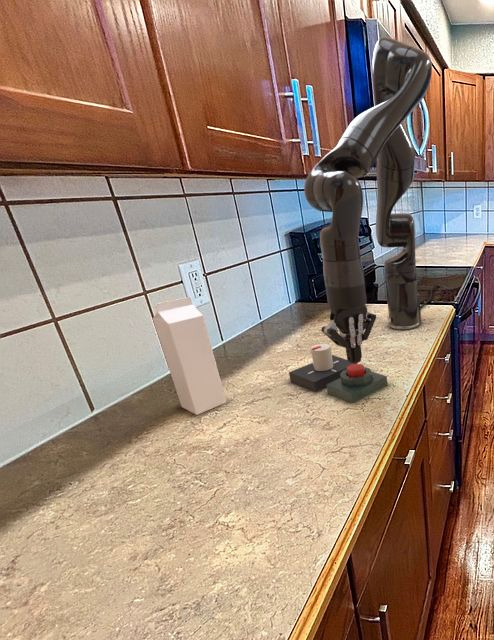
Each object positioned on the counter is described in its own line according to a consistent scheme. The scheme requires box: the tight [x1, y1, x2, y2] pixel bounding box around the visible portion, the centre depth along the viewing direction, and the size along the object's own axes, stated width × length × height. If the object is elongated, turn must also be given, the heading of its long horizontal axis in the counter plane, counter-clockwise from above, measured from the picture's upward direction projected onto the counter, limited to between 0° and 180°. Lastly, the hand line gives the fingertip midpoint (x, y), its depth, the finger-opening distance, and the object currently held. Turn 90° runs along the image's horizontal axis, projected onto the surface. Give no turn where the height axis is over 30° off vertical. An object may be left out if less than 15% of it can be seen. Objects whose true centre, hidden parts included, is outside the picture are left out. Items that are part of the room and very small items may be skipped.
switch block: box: [326, 366, 389, 404], centre depth 91 cm, size 10×8×4 cm
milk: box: [152, 296, 227, 416], centre depth 81 cm, size 6×6×22 cm
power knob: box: [310, 343, 333, 371], centre depth 96 cm, size 4×4×5 cm
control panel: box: [288, 354, 358, 393], centre depth 97 cm, size 12×9×3 cm
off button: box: [347, 363, 365, 377], centre depth 90 cm, size 4×4×2 cm
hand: (355, 361), depth 90 cm, fingers closed
